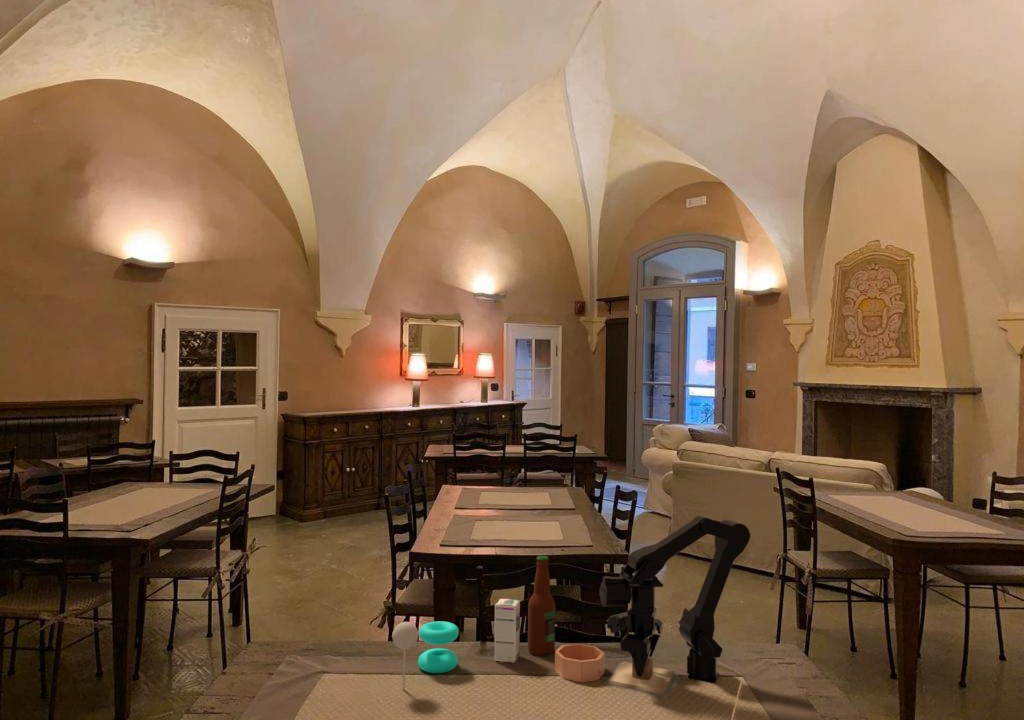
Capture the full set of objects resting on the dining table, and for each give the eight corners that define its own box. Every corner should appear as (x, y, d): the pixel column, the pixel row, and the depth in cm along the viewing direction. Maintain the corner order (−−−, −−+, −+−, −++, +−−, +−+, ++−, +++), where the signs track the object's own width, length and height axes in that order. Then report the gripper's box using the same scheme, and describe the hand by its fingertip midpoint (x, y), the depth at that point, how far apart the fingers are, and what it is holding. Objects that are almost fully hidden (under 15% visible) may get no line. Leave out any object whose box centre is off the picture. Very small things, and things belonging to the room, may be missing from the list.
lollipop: (421, 686, 147) (423, 620, 148) (409, 697, 141) (411, 628, 143) (397, 682, 149) (400, 616, 150) (385, 692, 143) (387, 624, 145)
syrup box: (515, 664, 161) (516, 605, 163) (493, 661, 163) (494, 603, 164) (519, 655, 167) (520, 599, 168) (498, 653, 168) (499, 597, 169)
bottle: (555, 657, 167) (556, 560, 169) (527, 656, 167) (529, 559, 169) (553, 646, 174) (555, 554, 176) (527, 646, 174) (529, 553, 176)
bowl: (608, 669, 159) (608, 648, 160) (594, 686, 149) (594, 664, 149) (565, 661, 164) (566, 641, 164) (549, 677, 154) (550, 655, 154)
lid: (674, 674, 156) (674, 654, 156) (664, 694, 144) (664, 673, 145) (623, 664, 161) (623, 645, 162) (608, 683, 150) (608, 662, 150)
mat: (679, 675, 156) (679, 673, 156) (667, 699, 143) (667, 697, 143) (620, 664, 163) (620, 662, 163) (603, 686, 149) (603, 684, 149)
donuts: (466, 624, 161) (441, 635, 152) (465, 665, 160) (439, 678, 152) (437, 617, 166) (410, 627, 158) (436, 656, 165) (409, 668, 157)
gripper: (620, 591, 166) (620, 652, 165) (599, 610, 149) (599, 678, 148) (663, 597, 161) (663, 660, 160) (646, 617, 145) (646, 688, 143)
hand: (642, 671), depth 153 cm, fingers open, 6 cm apart
